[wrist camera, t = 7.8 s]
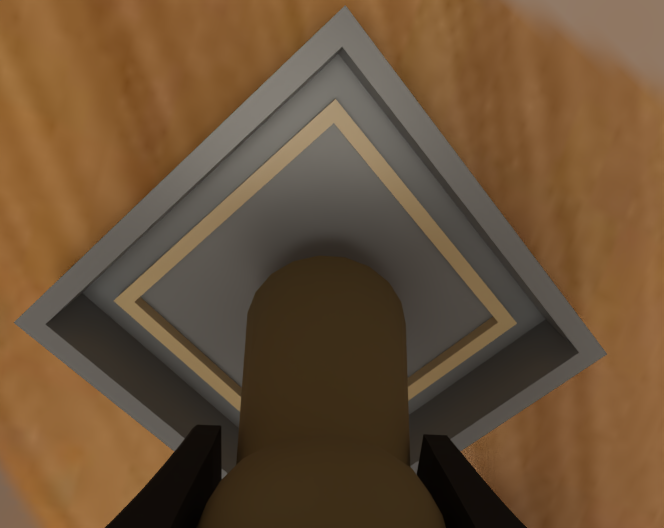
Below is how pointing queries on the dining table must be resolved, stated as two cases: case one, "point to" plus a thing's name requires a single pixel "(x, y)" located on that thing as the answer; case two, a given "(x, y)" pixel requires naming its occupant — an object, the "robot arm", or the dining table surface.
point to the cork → (323, 407)
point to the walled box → (308, 241)
